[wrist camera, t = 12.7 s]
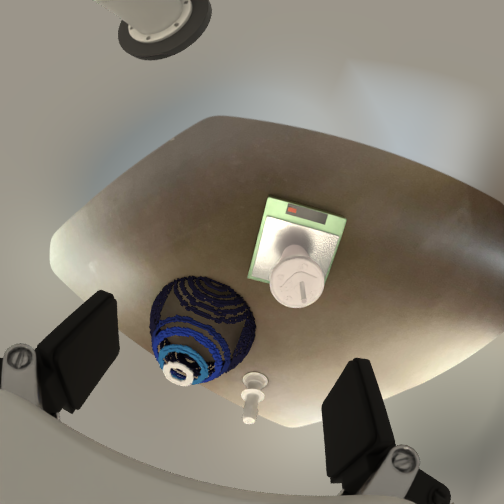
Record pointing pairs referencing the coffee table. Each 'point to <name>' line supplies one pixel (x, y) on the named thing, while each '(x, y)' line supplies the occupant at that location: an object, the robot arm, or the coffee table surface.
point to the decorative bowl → (186, 366)
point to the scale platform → (291, 233)
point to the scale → (300, 222)
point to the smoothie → (296, 278)
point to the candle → (252, 395)
